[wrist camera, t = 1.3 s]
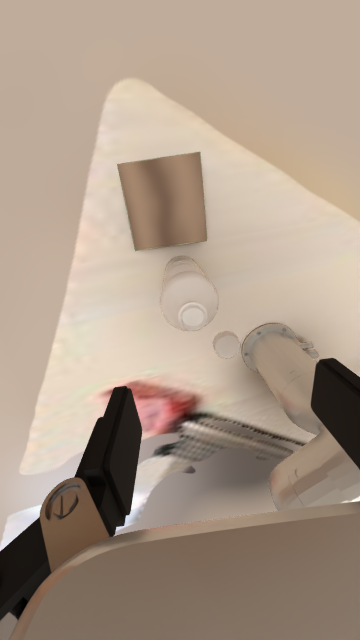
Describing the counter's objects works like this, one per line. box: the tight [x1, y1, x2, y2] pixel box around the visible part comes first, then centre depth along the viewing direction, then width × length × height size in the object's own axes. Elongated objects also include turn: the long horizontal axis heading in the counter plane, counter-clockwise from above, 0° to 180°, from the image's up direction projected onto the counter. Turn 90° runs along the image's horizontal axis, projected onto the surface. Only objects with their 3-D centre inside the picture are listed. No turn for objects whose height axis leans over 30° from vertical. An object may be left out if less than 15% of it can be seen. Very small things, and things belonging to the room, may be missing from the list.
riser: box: [117, 152, 207, 251], centre depth 34 cm, size 11×11×8 cm
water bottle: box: [160, 256, 241, 358], centre depth 30 cm, size 9×6×25 cm
